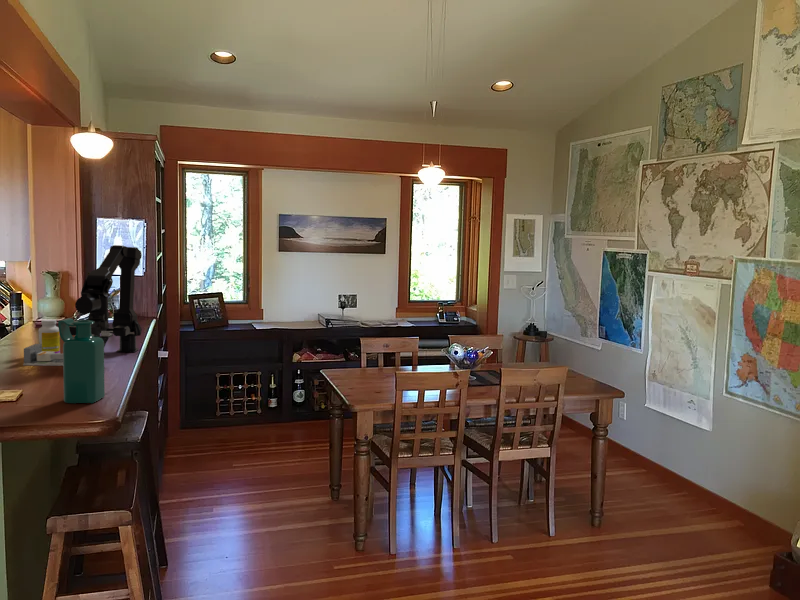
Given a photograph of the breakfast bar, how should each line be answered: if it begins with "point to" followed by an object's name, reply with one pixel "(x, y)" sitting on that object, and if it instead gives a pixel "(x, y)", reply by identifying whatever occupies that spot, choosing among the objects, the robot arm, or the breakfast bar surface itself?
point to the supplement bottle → (49, 336)
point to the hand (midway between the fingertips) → (99, 355)
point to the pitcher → (82, 362)
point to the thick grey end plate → (48, 356)
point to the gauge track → (31, 357)
